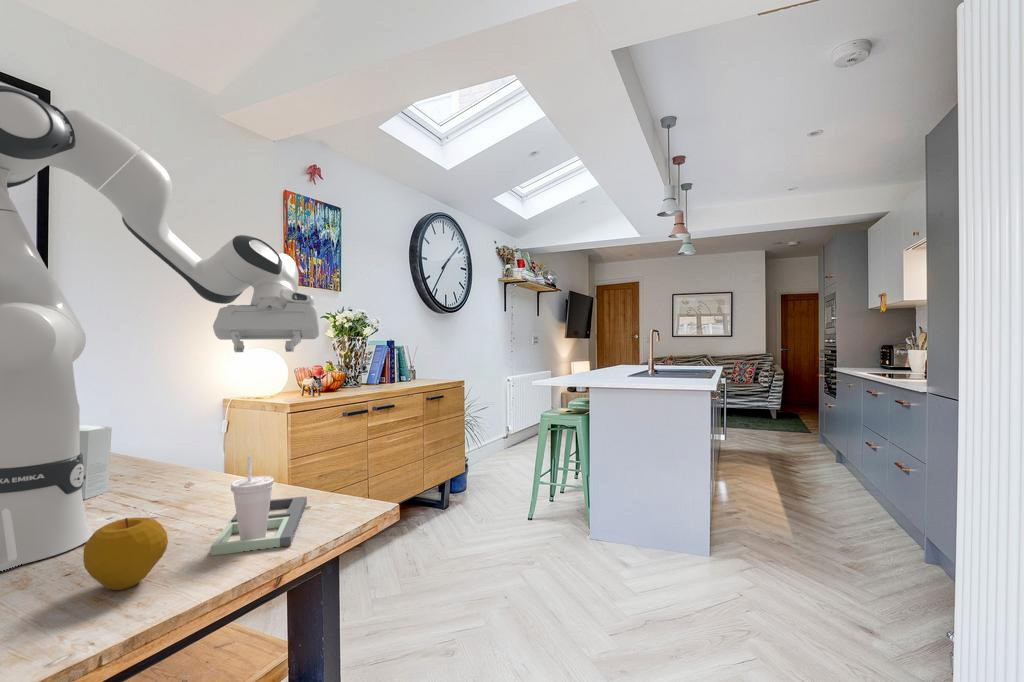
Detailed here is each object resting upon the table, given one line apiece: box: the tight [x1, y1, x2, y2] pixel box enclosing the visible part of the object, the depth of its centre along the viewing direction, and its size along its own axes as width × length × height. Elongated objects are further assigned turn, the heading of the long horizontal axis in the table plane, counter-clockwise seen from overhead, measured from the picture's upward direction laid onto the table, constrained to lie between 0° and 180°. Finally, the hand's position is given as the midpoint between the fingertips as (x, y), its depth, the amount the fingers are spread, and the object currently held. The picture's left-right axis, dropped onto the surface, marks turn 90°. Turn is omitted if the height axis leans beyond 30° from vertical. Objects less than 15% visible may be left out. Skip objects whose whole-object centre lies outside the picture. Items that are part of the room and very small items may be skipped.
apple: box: [83, 517, 169, 591], centre depth 63 cm, size 9×9×9 cm
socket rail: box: [210, 496, 308, 557], centre depth 83 cm, size 11×21×2 cm, turn 17°
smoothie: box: [230, 455, 275, 541], centre depth 78 cm, size 6×6×14 cm
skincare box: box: [80, 425, 113, 501], centre depth 101 cm, size 8×6×15 cm
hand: (264, 350), depth 96 cm, fingers open, 8 cm apart
